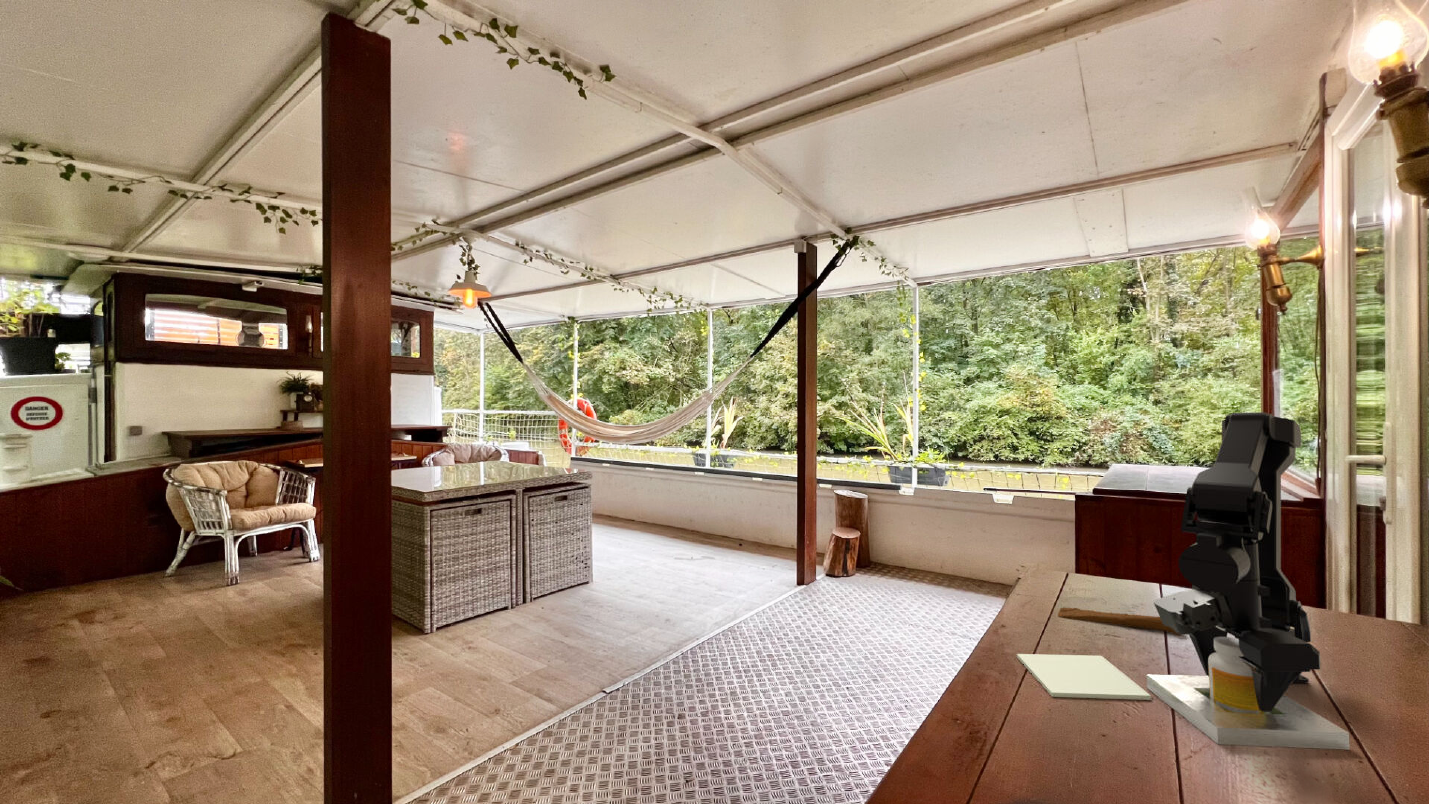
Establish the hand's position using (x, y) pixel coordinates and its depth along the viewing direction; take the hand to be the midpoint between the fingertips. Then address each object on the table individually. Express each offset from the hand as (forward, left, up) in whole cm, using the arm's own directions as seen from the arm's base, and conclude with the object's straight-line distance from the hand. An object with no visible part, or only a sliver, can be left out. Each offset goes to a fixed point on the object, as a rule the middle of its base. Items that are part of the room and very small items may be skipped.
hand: (1236, 692), depth 75 cm
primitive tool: (-2, -33, -4) cm, 33 cm away
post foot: (0, 0, -3) cm, 3 cm away
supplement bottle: (0, 0, -3) cm, 3 cm away
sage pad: (+15, -10, -3) cm, 18 cm away
